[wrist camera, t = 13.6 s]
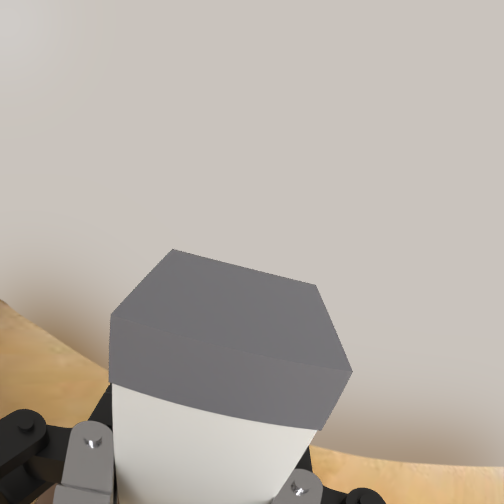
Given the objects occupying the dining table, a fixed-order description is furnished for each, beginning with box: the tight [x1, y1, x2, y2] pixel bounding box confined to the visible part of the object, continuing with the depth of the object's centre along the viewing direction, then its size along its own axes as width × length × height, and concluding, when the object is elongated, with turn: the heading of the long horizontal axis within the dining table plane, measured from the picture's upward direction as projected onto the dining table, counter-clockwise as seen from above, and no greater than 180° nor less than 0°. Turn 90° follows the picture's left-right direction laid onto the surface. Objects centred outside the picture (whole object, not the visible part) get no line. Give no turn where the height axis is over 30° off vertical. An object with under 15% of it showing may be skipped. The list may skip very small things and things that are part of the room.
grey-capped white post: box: [109, 249, 353, 504], centre depth 9 cm, size 4×4×14 cm
